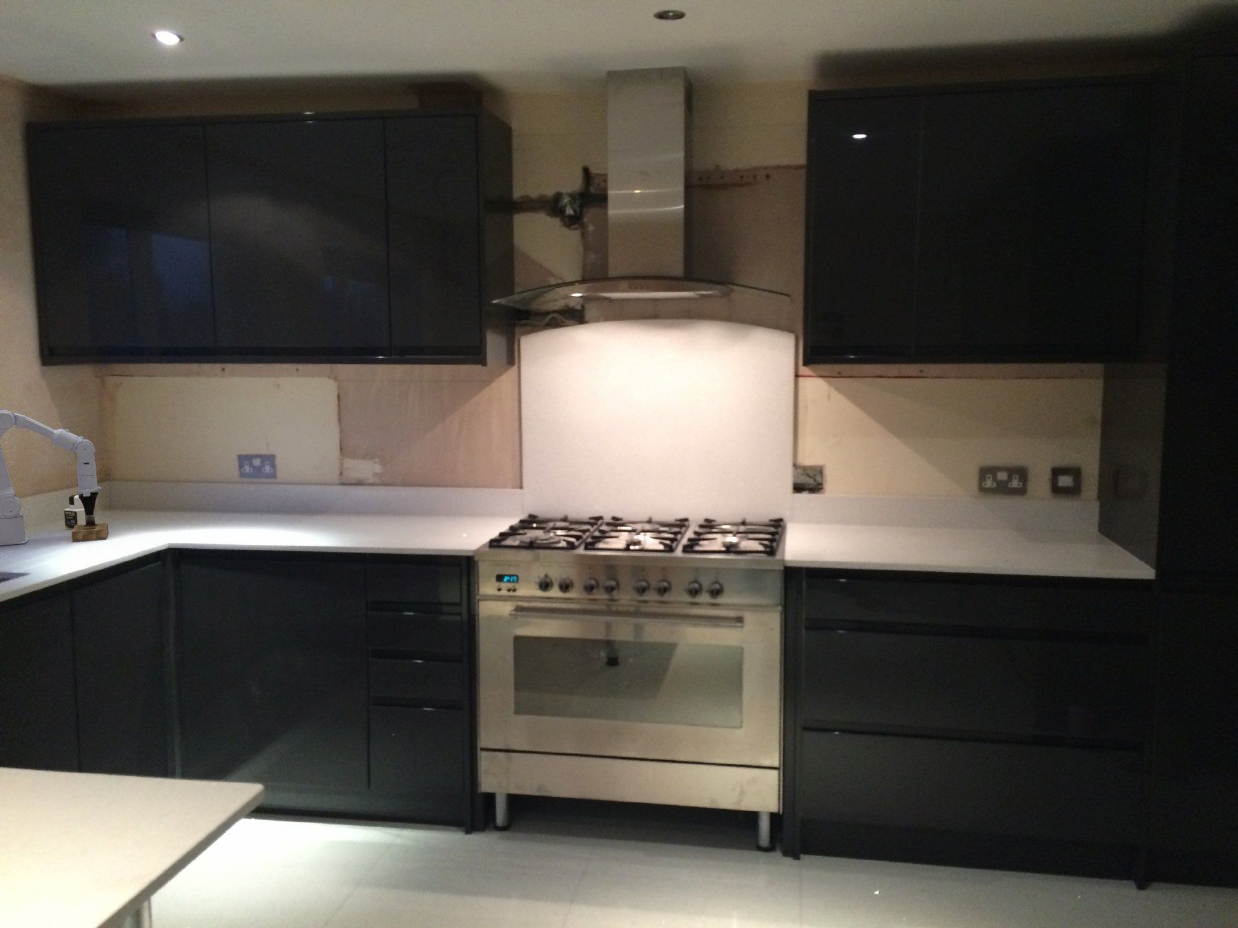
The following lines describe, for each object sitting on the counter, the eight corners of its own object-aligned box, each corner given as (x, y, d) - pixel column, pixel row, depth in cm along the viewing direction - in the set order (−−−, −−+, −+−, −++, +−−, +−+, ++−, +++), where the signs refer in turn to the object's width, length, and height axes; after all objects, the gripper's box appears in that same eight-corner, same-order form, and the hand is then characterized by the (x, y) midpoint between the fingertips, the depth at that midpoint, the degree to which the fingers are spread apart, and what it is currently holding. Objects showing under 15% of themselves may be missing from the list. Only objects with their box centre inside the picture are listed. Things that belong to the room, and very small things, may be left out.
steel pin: (86, 525, 343) (84, 502, 342) (85, 524, 345) (83, 501, 344) (95, 524, 344) (94, 501, 343) (95, 523, 347) (93, 500, 346)
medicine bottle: (65, 528, 360) (62, 495, 358) (83, 525, 366) (81, 492, 364) (77, 530, 356) (75, 496, 355) (96, 526, 363) (93, 494, 361)
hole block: (72, 542, 334) (71, 531, 333) (76, 535, 347) (75, 525, 346) (105, 539, 338) (105, 529, 337) (108, 532, 350) (107, 522, 350)
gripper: (98, 476, 338) (101, 516, 339) (101, 472, 351) (104, 510, 353) (74, 478, 335) (78, 518, 337) (78, 473, 348) (81, 511, 350)
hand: (90, 514), depth 344 cm, fingers closed on steel pin, 3 cm apart
